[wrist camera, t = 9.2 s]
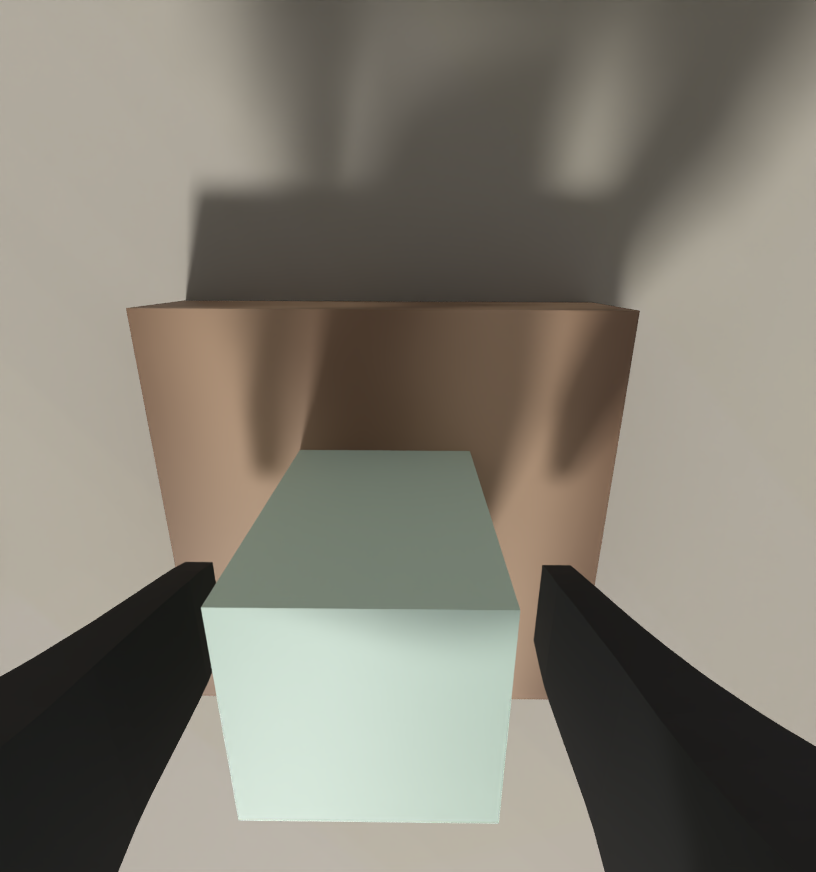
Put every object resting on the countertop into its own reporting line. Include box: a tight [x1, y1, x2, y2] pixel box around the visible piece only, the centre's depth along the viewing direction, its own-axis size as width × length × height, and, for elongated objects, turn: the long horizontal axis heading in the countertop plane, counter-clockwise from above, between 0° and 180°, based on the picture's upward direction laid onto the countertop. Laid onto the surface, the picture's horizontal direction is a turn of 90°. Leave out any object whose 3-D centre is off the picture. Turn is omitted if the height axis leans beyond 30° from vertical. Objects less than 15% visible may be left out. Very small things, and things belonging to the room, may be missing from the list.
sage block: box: [201, 450, 520, 824], centre depth 10 cm, size 4×4×6 cm
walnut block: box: [126, 301, 640, 699], centre depth 14 cm, size 12×12×3 cm
